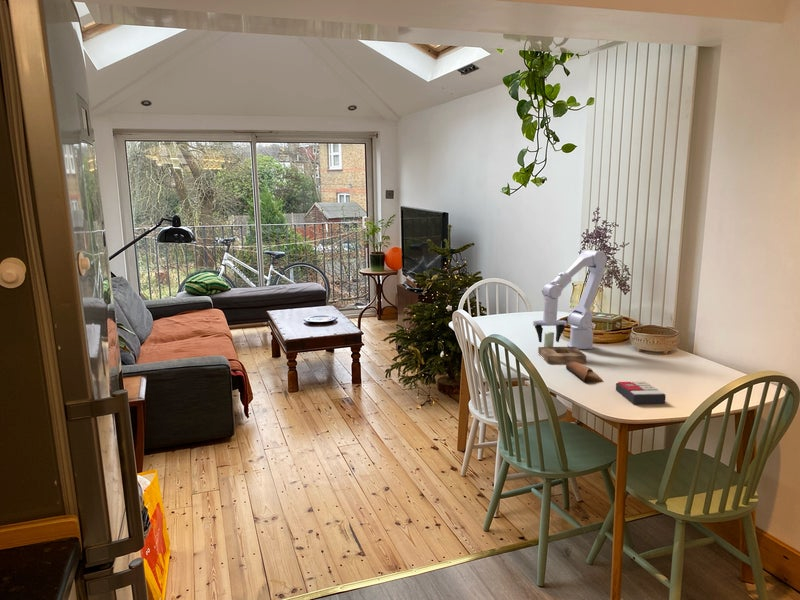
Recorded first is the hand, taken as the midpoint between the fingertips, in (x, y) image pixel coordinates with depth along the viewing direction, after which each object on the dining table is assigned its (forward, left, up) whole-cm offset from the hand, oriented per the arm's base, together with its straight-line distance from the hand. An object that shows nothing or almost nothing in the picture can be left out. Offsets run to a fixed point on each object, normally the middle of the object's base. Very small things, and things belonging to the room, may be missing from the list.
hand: (548, 341), depth 266 cm
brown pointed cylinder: (-4, +35, -5) cm, 36 cm away
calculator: (-15, +59, -5) cm, 61 cm away
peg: (0, 0, -4) cm, 4 cm away
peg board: (-2, +12, -4) cm, 13 cm away
